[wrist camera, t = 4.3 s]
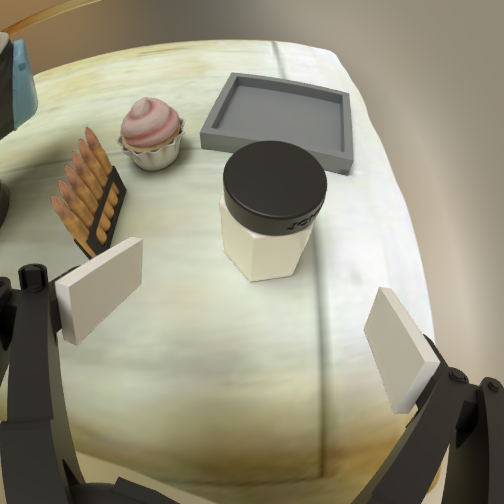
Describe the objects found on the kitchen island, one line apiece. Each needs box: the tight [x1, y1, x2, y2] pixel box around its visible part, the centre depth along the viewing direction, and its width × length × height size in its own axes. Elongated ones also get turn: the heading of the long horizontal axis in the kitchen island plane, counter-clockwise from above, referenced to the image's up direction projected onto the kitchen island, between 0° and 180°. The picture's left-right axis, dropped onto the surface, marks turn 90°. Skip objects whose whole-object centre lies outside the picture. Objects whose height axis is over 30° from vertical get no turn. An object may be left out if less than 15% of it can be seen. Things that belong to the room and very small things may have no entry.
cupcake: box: [117, 97, 186, 171], centre depth 34 cm, size 9×9×10 cm
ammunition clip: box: [51, 127, 126, 260], centre depth 28 cm, size 11×2×12 cm, turn 178°
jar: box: [219, 140, 327, 282], centre depth 27 cm, size 9×8×12 cm
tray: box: [200, 73, 353, 175], centre depth 41 cm, size 20×17×3 cm
